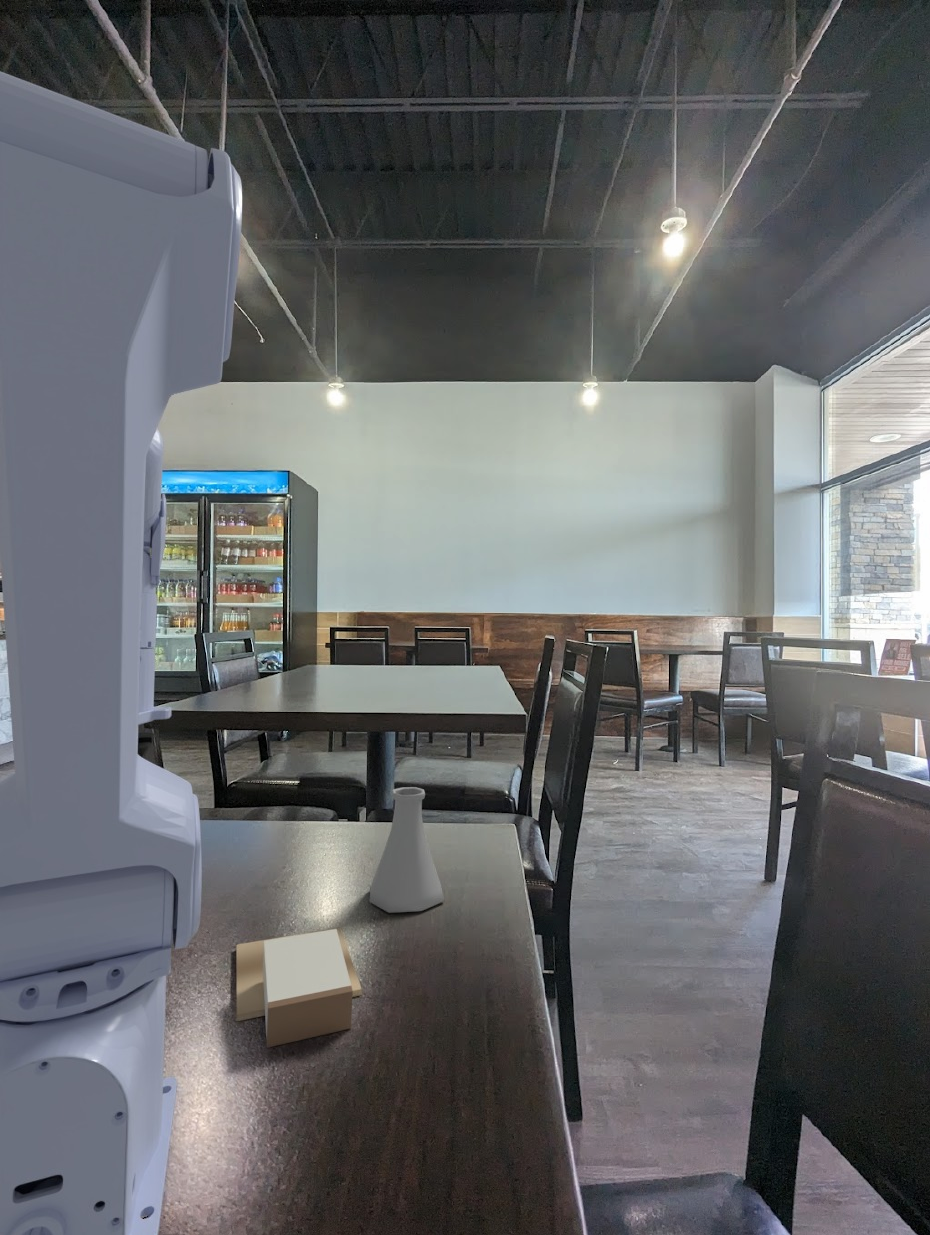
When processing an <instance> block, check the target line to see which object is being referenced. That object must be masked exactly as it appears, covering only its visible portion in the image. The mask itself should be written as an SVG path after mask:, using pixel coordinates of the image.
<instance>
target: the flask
mask: <svg viewBox="0 0 930 1235" xmlns="http://www.w3.org/2000/svg"><path fill="white" fill-rule="evenodd" d="M391 796H392V799H393V800H394V812H393V818H392V824H391V828H390V832H389V835H388V838H387V841H386V845H384V850H383V851H382V855H381V859H380V861H379V864H378V865H377V866H378V867H377V869H376V872H375V874H374V876H373V879H372V882H371V885H370V888H369V903H370V904H373V905H374V906H376V907H378V908H379V909H381V910H383V911H384V912H386V913H389V914H392V913H393V914H394V913H407V912H409V913H410V912H422V911H424V910H427V909H430V908H431V907H434V906H436V905H438V904H441V903H443V902H445V896H444V893H443V889H442V885H441V881H440V878H439V875H438V872H437V869H436V866H435V863H434V861H433V857H432V854H431V851H430V846H429V844H428V841H427V836H426V834H425V828H424V821H423V813H422V811H423V810H422V808H423V800H424V799H425V796H426V792H425V790H424V789H423V788H421V787H416V786H410V787H409V786H407V787H405V786H404V787H397V788H394V789H391Z"/></svg>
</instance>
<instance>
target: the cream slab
mask: <svg viewBox="0 0 930 1235" xmlns="http://www.w3.org/2000/svg"><path fill="white" fill-rule="evenodd" d="M332 929H333V928H332ZM326 930H327V929H326ZM320 931H321V930H320ZM314 932H315V931H314ZM308 933H309V932H308ZM302 934H303V933H302ZM296 935H297V934H296ZM290 936H291V935H290ZM284 937H285V936H284ZM278 938H279V937H278ZM272 939H273V938H272ZM266 940H267V939H266ZM263 986H264V1004H265V1017H264V1018H265V1036H266V1037H265V1038H266V1048H271V1047H275V1046H281V1045H284V1044H290V1043H294V1042H298V1041H302V1040H307V1039H311V1038H314V1037H319V1036H324V1035H329V1034H333V1033H337V1032H342V1031H345V1030H351V1028H352V1013H353V1012H352V1011H353V997H352V995H353V990H352V986H351V983H350V979H349V975H348V971H347V967H346V963H345V959H344V956H343V952H342V948H341V944H340V940H339V936H338V933H337V929H333V930H327V931H321V932H315V933H309V934H303V935H297V936H291V937H285V938H279V939H273V940H267V941H264V955H263Z"/></svg>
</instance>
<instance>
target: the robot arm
mask: <svg viewBox="0 0 930 1235" xmlns="http://www.w3.org/2000/svg"><path fill="white" fill-rule="evenodd" d="M208 156H209V157H208ZM242 219H243V186H242V179H241V176H240V174H239V173H238V172H237V169H236V168H235V166H234V165H233V164H232V162H231V157H230V156H229V154H228V153H227V152H226V151H224V150H221V149H218V148H214V147H211V149H210V153H209V155H208V151H207V149H205V148H204V147H203V148H202V147H200V146H197V145H195V144H193V143H191V142H188V141H186V140H183V139H180V138H178V137H175V136H172V135H169V134H167V133H164V132H162V131H160V130H156V129H153V128H151V127H149V126H146V125H143V124H141V123H138V122H135V121H133V120H130V119H127V118H126V117H125V118H124V117H122V116H120V115H116V114H114V113H113V112H112V113H111V112H108V111H106V110H104V109H102V108H101V109H100V108H98V107H95V106H93V105H90V104H88V103H84V102H82V101H80V100H77V99H75V98H72V97H69V96H66V95H64V94H62V93H58V92H56V91H53V90H50V89H48V88H46V87H43V86H40V85H37V84H35V83H32V82H31V81H27V80H24V79H21V78H19V77H16V76H14V75H11V74H8V73H6V72H3V71H0V573H1V574H0V575H1V584H2V585H1V588H2V600H3V601H2V602H3V617H4V630H5V632H4V633H5V646H6V660H7V674H8V688H9V689H8V691H9V706H10V720H11V736H12V748H13V764H14V773H12V774H11V775H9V776H7V777H6V778H4V779H2V780H1V781H0V1235H159V1232H160V1225H161V1215H162V1208H163V1202H164V1201H163V1200H164V1191H165V1184H166V1177H167V1168H168V1162H169V1160H168V1159H169V1153H170V1146H171V1145H170V1144H171V1138H172V1128H173V1123H174V1115H175V1107H176V1106H175V1105H176V1098H177V1092H178V1079H177V1078H176V1076H166V1077H164V1065H165V1064H164V1063H165V1032H166V1003H167V1000H166V998H167V997H166V996H167V976H168V975H170V974H171V967H172V966H171V965H172V962H171V961H172V944H173V950H174V951H175V950H176V951H177V950H179V949H184V948H186V947H187V946H189V945H190V944H189V943H190V940H192V938H193V937H194V936H195V935H196V934H197V933H198V931H199V928H200V922H201V912H202V911H201V910H202V907H201V906H202V879H203V878H202V877H203V876H202V874H203V872H202V866H203V865H202V839H201V838H202V837H201V820H200V818H201V817H200V808H199V807H200V806H199V799H198V796H197V795H196V794H194V793H193V792H194V791H193V787H192V784H191V782H189V781H188V780H186V779H184V778H183V777H180V776H179V775H177V774H175V773H173V772H172V771H169V770H168V769H165V768H163V767H161V766H159V765H157V764H155V763H153V762H151V761H149V760H148V759H145V757H146V755H147V754H148V751H149V749H151V746H152V744H153V743H154V741H155V733H154V732H147V731H146V732H142V731H141V732H139V726H140V725H144V724H146V723H150V722H153V721H155V720H168V719H170V718H171V717H172V707H171V706H154V704H155V701H154V700H155V677H156V676H155V674H156V673H155V670H156V669H155V668H156V645H157V644H156V643H157V642H156V641H157V640H156V638H157V612H158V611H157V610H158V608H157V606H158V605H157V604H158V594H157V593H156V589H157V588H158V587H159V586H160V579H161V578H160V576H161V567H162V561H163V556H164V553H165V548H166V535H167V534H166V530H167V499H166V494H165V493H162V485H163V466H164V465H163V464H164V452H165V450H164V448H165V447H164V445H165V444H164V440H163V436H162V434H161V432H160V430H159V428H158V427H159V425H160V422H161V420H162V417H163V416H164V415H163V414H164V413H165V410H166V408H167V405H168V402H169V400H170V399H171V397H172V396H173V395H177V394H181V393H184V392H189V391H192V390H196V389H200V388H201V389H202V388H204V387H209V386H212V385H217V384H219V383H220V382H222V377H223V367H224V366H223V363H225V362H226V361H228V359H229V358H230V354H231V347H232V339H233V338H232V336H233V322H234V312H235V310H234V309H235V300H236V299H235V297H236V290H237V289H236V288H237V282H238V274H239V265H240V264H239V263H240V253H241V242H242V241H241V238H242V222H243V220H242ZM144 1214H145V1215H147V1216H148V1217H146V1218H144V1219H142V1218H141V1216H144Z"/></svg>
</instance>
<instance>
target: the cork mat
mask: <svg viewBox="0 0 930 1235" xmlns="http://www.w3.org/2000/svg"><path fill="white" fill-rule="evenodd" d="M333 929H337V933H338V936H339V940H340V944H341V948H342V952H343V956H344V959H345V963H346V967H347V971H348V975H349V979H350V983H351V986H352V990H353V995H352V998H355V997H358V996H362V994H363V990H362V985H361V982H360V980H359V977H358V974H357V972H356V969H355V966H354V963H353V961H352V958H351V955H350V951H349V950H348V946H347V943H346V940H345V938H344V935H343V932H342V929H341V927H335V928H328V929H324V930H323V929H322V930H317V931H311V932H305V933H297V934H293V935H292V934H291V935H286V936H281V937H274V938H268V939H263V940H256V941H251V942H245V943H239V944H236V950H235V951H236V954H235V956H236V962H235V963H236V968H235V969H236V971H235V972H236V1022H241V1021H245V1020H249V1019H255V1018H259V1017H264V1016H265V1004H264V986H263V955H264V941H267V940H273V939H279V938H285V937H291V936H297V935H303V934H309V933H315V932H321V931H327V930H333Z"/></svg>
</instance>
